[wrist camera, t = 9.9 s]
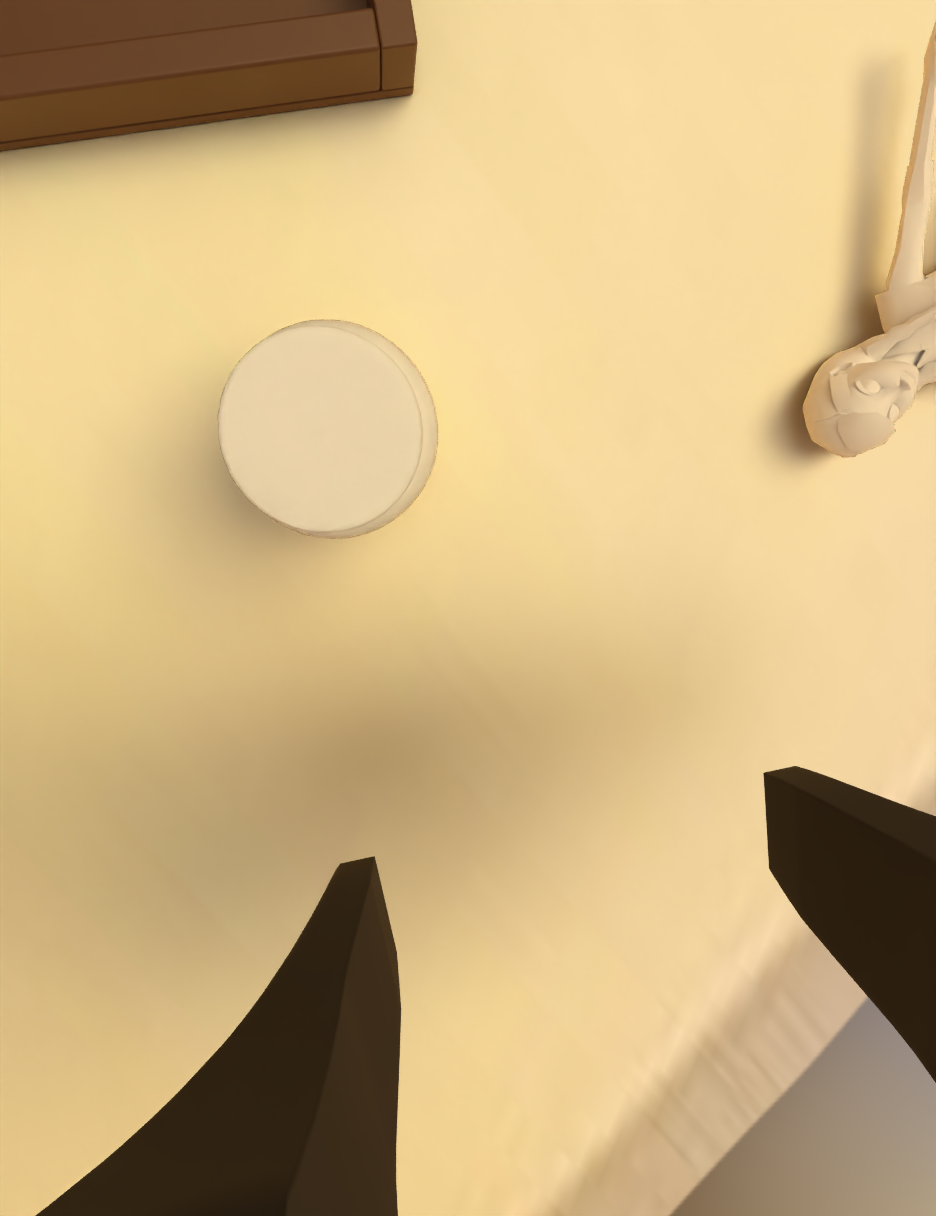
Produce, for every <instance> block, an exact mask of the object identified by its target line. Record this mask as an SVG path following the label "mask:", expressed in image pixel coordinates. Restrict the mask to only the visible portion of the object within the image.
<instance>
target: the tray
mask: <svg viewBox="0 0 936 1216" xmlns="http://www.w3.org/2000/svg"><path fill="white" fill-rule="evenodd" d="M416 51H417V37H416V31H415V24H414V18H413V11H412V5H411V0H0V151H2V150H9V149H16V148H23V147H31V146H38V145H45V144H53V143H60V142H67V141H74V140H82V139H89V138H96V137H103V136H111V135H118V134H125V133H133V132H140V131H147V130H154V129H162V128H169V127H176V126H183V125H191V124H198V123H205V122H213V121H220V120H227V119H234V118H242V117H249V116H256V115H263V114H271V113H278V112H285V111H293V110H300V109H307V108H314V107H322V106H329V105H336V104H343V103H351V102H358V101H365V100H372V99H380V98H387V97H394V96H402V95H409V94H412V93H413V87H414V86H413V84H414V73H415V62H416Z"/></svg>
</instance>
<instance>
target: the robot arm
mask: <svg viewBox="0 0 936 1216" xmlns="http://www.w3.org/2000/svg"><path fill="white" fill-rule="evenodd" d="M764 787H765V804H766V822H767V839H768V856H769V869H770V871H771V872H772V874H773V875H774V877H775V879H776V880H777V882H778V883H779V885H780V887H781V888H782V890H783V891H784V893H785V895H786V896H787V898H788V899H789V901H790V902H791V903H792V905H793V906H794V908H795V909H796V911H797V912H798V914H799V915H800V917H801V918H802V919H803V921H804V922H805V923H806V924H807V925H808V927H809V928H810V929H811V930H812V931H813V933H814V934H815V935H816V936H817V937H818V939H819V940H820V941H821V942H822V943H823V944H824V946H825V947H826V948H827V949H828V950H829V952H830V953H831V954H832V955H833V956H834V957H835V959H836V960H837V961H838V962H839V963H840V964H841V966H842V967H843V968H844V969H845V970H846V971H847V973H848V974H849V975H850V976H851V977H852V978H853V980H854V981H855V982H856V983H857V984H858V985H859V987H860V988H861V989H862V990H863V991H864V992H865V994H866V995H867V996H868V997H869V998H870V999H871V1001H872V1002H873V1003H874V1004H875V1005H876V1006H877V1007H878V1008H879V1010H880V1011H881V1012H882V1013H883V1015H884V1016H885V1017H886V1018H887V1019H888V1020H889V1022H890V1023H891V1024H892V1025H893V1026H894V1028H895V1029H896V1030H897V1031H898V1033H899V1034H900V1035H901V1036H902V1037H903V1039H904V1040H905V1041H906V1043H907V1044H908V1045H909V1046H910V1048H911V1049H912V1050H913V1051H914V1053H915V1054H916V1055H917V1057H918V1058H919V1060H920V1061H921V1062H922V1064H923V1065H924V1067H925V1068H926V1070H927V1071H928V1072H929V1074H930V1075H931V1077H932V1078H933V1080H934V1081H935V1082H936V816H933V815H930V814H927V813H924V812H921V811H919V810H916V809H913V808H910V807H908V806H905V805H902V804H899V803H897V802H894V801H891V800H889V799H886V798H883V797H881V796H878V795H875V794H873V793H870V792H867V791H865V790H862V789H859V788H857V787H854V786H852V785H849V784H846V783H844V782H841V781H838V780H836V779H833V778H830V777H827V776H825V775H822V774H819V773H816V772H813V771H810V770H807V769H804V768H800V767H797V766H793V767H789V768H784V769H779V770H775V771H770V772H765V773H764ZM400 1028H401V1002H400V987H399V974H398V962H397V951H396V947H395V943H394V938H393V934H392V930H391V925H390V921H389V917H388V912H387V908H386V904H385V899H384V895H383V891H382V886H381V882H380V878H379V873H378V869H377V864H376V860H375V856H374V857H369V858H364V859H360V860H355V861H351V862H346V863H341V864H340V865H339V866H338V868H337V869H336V870H335V872H334V874H333V876H332V878H331V880H330V882H329V884H328V886H327V888H326V890H325V892H324V894H323V896H322V898H321V900H320V901H319V903H318V905H317V907H316V909H315V911H314V912H313V914H312V916H311V918H310V920H309V921H308V923H307V925H306V926H305V928H304V930H303V931H302V933H301V935H300V937H299V938H298V940H297V942H296V943H295V945H294V947H293V948H292V950H291V952H290V953H289V955H288V956H287V958H286V959H285V961H284V962H283V964H282V965H281V967H280V968H279V970H278V971H277V973H276V974H275V976H274V977H273V979H272V980H271V982H270V983H269V985H268V986H267V988H266V989H265V991H264V992H263V994H262V995H261V996H260V998H259V999H258V1001H257V1002H256V1003H255V1005H254V1006H253V1007H252V1009H251V1010H250V1011H249V1013H248V1014H247V1015H246V1017H245V1018H244V1019H243V1020H242V1022H241V1023H240V1024H239V1025H238V1027H237V1028H236V1029H235V1030H234V1032H233V1033H232V1034H231V1035H230V1037H229V1038H228V1039H227V1040H226V1041H225V1042H224V1044H223V1045H222V1046H221V1047H220V1048H219V1049H218V1050H217V1051H216V1052H215V1053H214V1055H213V1056H212V1057H211V1058H210V1059H209V1060H208V1061H207V1062H206V1063H205V1064H204V1065H203V1066H202V1067H201V1069H200V1070H199V1071H198V1072H197V1073H196V1074H195V1075H194V1076H193V1077H192V1078H191V1079H190V1080H189V1081H188V1083H187V1084H186V1085H185V1086H184V1087H183V1088H182V1089H181V1090H180V1091H179V1092H178V1093H177V1094H176V1095H175V1096H174V1097H173V1098H172V1099H171V1100H170V1101H169V1102H168V1103H167V1104H166V1105H165V1106H164V1107H163V1108H162V1109H161V1110H160V1111H159V1112H158V1113H157V1114H156V1115H154V1116H153V1117H152V1118H151V1119H150V1120H149V1121H148V1122H147V1123H146V1124H145V1125H144V1126H143V1127H142V1128H140V1129H139V1130H138V1131H137V1132H136V1133H135V1134H134V1135H133V1136H132V1137H131V1138H129V1139H128V1140H127V1141H126V1142H125V1143H124V1144H123V1145H122V1146H121V1147H119V1148H118V1149H117V1150H116V1151H115V1152H114V1153H112V1154H111V1155H110V1156H109V1157H108V1158H107V1159H106V1160H104V1161H103V1162H102V1163H101V1164H100V1165H98V1166H97V1167H96V1168H95V1169H93V1170H92V1171H91V1172H90V1173H88V1174H87V1175H86V1176H85V1177H83V1178H82V1179H81V1180H80V1181H78V1182H77V1183H76V1184H75V1185H74V1186H72V1187H71V1188H70V1189H69V1190H67V1191H66V1192H65V1193H64V1194H62V1195H61V1196H60V1197H59V1198H57V1199H56V1200H55V1201H54V1202H52V1203H51V1204H50V1205H49V1206H48V1207H46V1208H45V1209H44V1210H42V1211H41V1212H40V1213H38V1214H37V1215H36V1216H398V1209H397V1189H396V1135H397V1109H398V1083H399V1057H400Z"/></svg>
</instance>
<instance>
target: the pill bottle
mask: <svg viewBox="0 0 936 1216" xmlns="http://www.w3.org/2000/svg"><path fill="white" fill-rule="evenodd" d="M218 433H219V442H220V447H221V451H222V454H223V457H224V461H225V463H226V465H227V468H228V470H229V472H230V474H231V476H232V478H233V480H234V482H235V483H236V484H237V486H238V487H239V489H240V490H241V491H242V492H243V494H244V495H245V496H246V497H247V498H248V499H249V500H250V501H251V502H252V503H253V504H254V505H255V506H256V507H258V508H259V509H260V510H261V511H263V512H264V513H265V514H266V515H268V516H269V517H270V518H272V519H273V520H275V521H276V522H278V523H280V524H281V525H283V526H285V527H287V528H289V529H292V530H294V531H296V532H299V533H302V534H305V535H309V536H314V537H319V538H330V539H333V538H349V537H355V536H359V535H363V534H366V533H369V532H372V531H375V530H377V529H379V528H381V527H383V526H384V525H386V524H388V523H389V522H391V521H393V520H394V519H395V518H397V517H398V516H399V515H400V514H402V513H403V512H404V511H405V510H406V509H407V508H408V507H409V506H410V505H411V504H412V503H413V502H414V501H415V499H416V498H417V497H418V495H419V494H420V493H421V491H422V489H423V488H424V486H425V484H426V482H427V480H428V478H429V476H430V474H431V471H432V468H433V465H434V462H435V457H436V452H437V444H438V423H437V416H436V410H435V406H434V403H433V399H432V396H431V394H430V391H429V389H428V387H427V384H426V382H425V380H424V379H423V377H422V375H421V373H420V372H419V370H418V369H417V367H416V366H415V365H414V363H413V362H412V361H411V360H410V358H409V357H408V356H407V355H406V354H405V353H404V352H403V351H402V350H401V349H400V348H399V347H397V346H396V345H395V344H394V343H392V342H391V341H390V340H388V339H387V338H385V337H384V336H382V335H380V334H378V333H377V332H375V331H373V330H371V329H369V328H366V327H364V326H361V325H358V324H354V323H351V322H346V321H340V320H311V321H305V322H300V323H296V324H293V325H290V326H288V327H285V328H283V329H281V330H279V331H277V332H275V333H273V334H271V335H270V336H268V337H267V338H265V339H264V340H262V341H261V342H259V343H258V344H257V345H255V346H254V347H253V348H252V349H251V350H250V351H249V352H247V353H246V354H245V355H244V357H243V358H242V359H241V360H240V361H239V362H238V364H237V365H236V367H235V368H234V369H233V371H232V373H231V374H230V376H229V378H228V381H227V383H226V385H225V387H224V390H223V393H222V396H221V400H220V406H219V411H218Z"/></svg>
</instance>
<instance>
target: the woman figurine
mask: <svg viewBox="0 0 936 1216" xmlns="http://www.w3.org/2000/svg"><path fill="white" fill-rule="evenodd" d="M935 127H936V22H935V25H934V28H933V31H932V34H931V36H930V39H929V43H928V47H927V50H926V54H925V58H924V73H923V85H922V90H921V97H920V103H919V108H918V114H917V120H916V126H915V132H914V138H913V144H912V150H911V156H910V162H909V166H908V167H907V172H906V177H905V182H904V187H903V195H902V214H901V220H900V225H899V231H898V237H897V242H896V248H895V253H894V256H893V260H892V264H891V268H890V271H889V275H888V279H887V283H886V287H885V292H883V293H879V294H877V295H875V299H876V303H877V307H878V311H879V315H880V320H881V324H882V328H883V330H884V333H885V334H881V335H877V336H874V337H872V338H870V339H868V340H866V341H864V342H862V343H860V344H858V345H857V346H855V347H852V348H849V349H846V350H844V351H841V352H838V353H836V354H835V355H833V356H832V357H831V358H829V359H828V360H827V361H825V362H824V363H823V364H822V365H821V367H820V368H819V370H818V371H817V373H816V374H815V376H814V378H813V381H812V384H811V386H810V389H809V391H808V394H807V396H806V399H805V401H804V405H803V413H804V418H805V422H806V426H807V429H808V432H809V434H810V437H811V440H812V441H814V442H815V443H817V444H818V445H820V446H822V447H823V448H825V449H826V450H828V451H829V452H831V453H834V454H836V455H838V456H841V457H843V458H844V457H855V456H857V455H858V454H861V453H864V452H866V451H868V450H871V449H873V448H875V447H878V446H880V445H882V444H884V443H885V442H886V441H887V440H888V439H889V438H890V437H891V436H892V435H893V434H894V433H895V431H896V430H895V428H894V422H895V421H896V420H898V419H899V418H900V417H901V416H902V415H903V414H904V413H905V412H906V411H907V410H908V409H909V408H910V407H911V405H912V403H913V400H914V396H915V392H917V391H918V390H919V389H921V388H922V387H923V386H924V385H925V384H929V383H933V382H936V271H934V272H932V273H930V274H929V275H927V276H925V277H924V276H923V274H922V272H923V252H924V240H925V235H926V229H927V223H928V218H929V212H930V206H931V199H932V187H933V171H934V160H932V152H933V144H934V135H935ZM931 160H932V161H931Z"/></svg>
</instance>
